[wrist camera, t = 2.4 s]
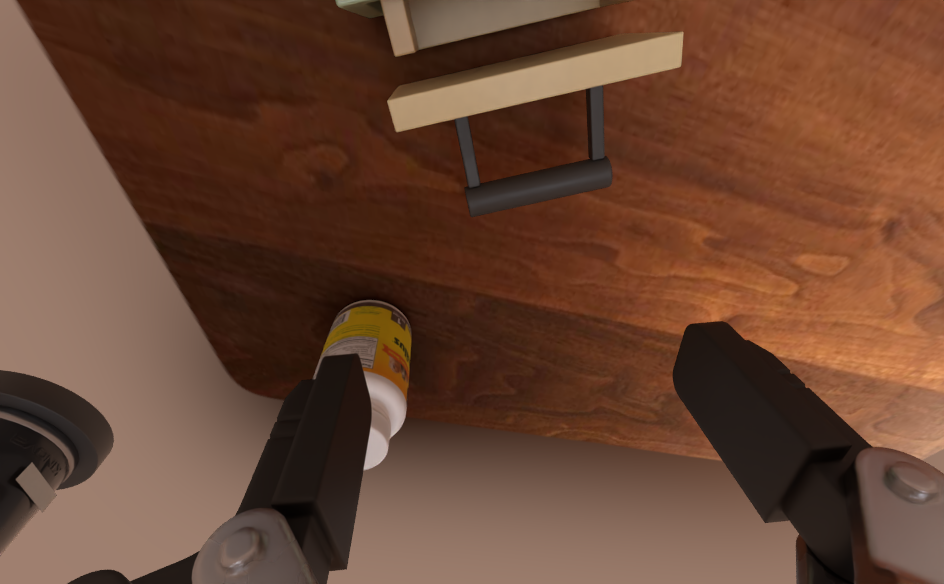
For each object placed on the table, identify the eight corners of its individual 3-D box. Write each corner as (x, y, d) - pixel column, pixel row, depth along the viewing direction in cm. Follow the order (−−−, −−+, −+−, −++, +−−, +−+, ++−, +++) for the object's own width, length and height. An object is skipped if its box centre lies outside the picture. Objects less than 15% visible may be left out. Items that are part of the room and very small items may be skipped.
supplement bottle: (413, 356, 31) (406, 480, 22) (338, 358, 30) (301, 485, 22) (411, 295, 28) (401, 409, 19) (328, 295, 27) (280, 413, 19)
